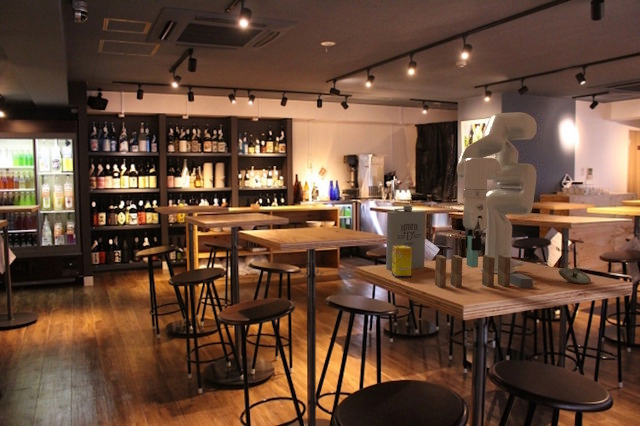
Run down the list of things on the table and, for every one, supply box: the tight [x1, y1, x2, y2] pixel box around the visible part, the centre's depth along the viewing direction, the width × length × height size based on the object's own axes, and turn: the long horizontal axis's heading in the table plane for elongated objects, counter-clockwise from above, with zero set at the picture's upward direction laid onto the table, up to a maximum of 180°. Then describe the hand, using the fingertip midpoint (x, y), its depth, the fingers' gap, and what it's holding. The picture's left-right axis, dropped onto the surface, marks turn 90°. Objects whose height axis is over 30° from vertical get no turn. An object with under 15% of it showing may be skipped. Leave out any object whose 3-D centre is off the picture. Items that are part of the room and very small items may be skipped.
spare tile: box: [466, 236, 479, 268], centre depth 176 cm, size 2×5×10 cm, turn 5°
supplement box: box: [391, 246, 412, 279], centre depth 192 cm, size 6×6×11 cm
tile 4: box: [481, 254, 495, 288], centre depth 178 cm, size 2×5×10 cm, turn 5°
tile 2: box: [450, 254, 464, 289], centre depth 177 cm, size 2×5×10 cm, turn 5°
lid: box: [558, 267, 592, 285], centre depth 185 cm, size 11×10×5 cm
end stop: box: [510, 273, 534, 289], centre depth 179 cm, size 4×9×3 cm, turn 5°
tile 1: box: [434, 254, 447, 289], centre depth 176 cm, size 2×5×10 cm, turn 5°
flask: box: [385, 204, 427, 271], centre depth 208 cm, size 17×5×25 cm, turn 117°
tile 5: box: [496, 255, 512, 288], centre depth 178 cm, size 2×5×10 cm, turn 5°
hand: (472, 248), depth 176 cm, fingers closed on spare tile, 4 cm apart
